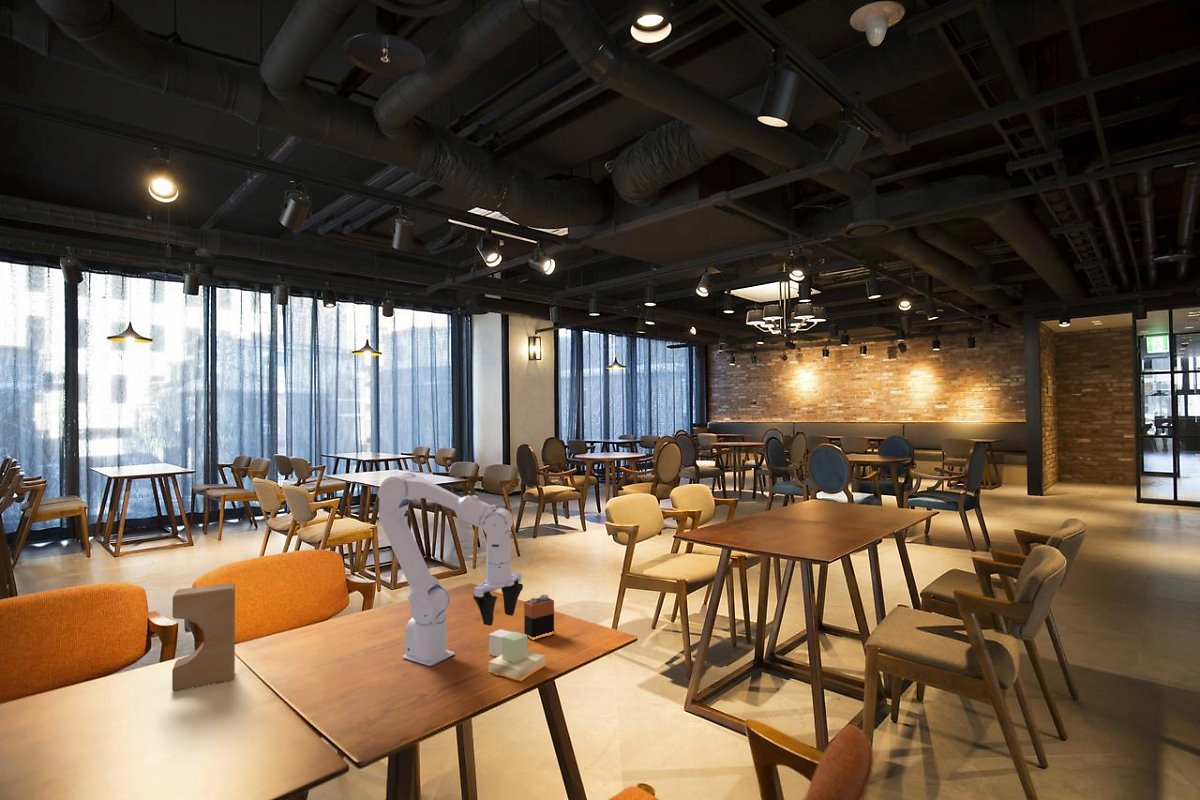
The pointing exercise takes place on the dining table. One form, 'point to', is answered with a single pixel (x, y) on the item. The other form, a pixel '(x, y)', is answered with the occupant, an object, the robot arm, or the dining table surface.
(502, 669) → the birch base block
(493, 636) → the grey block
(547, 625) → the battery
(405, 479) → the robot arm
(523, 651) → the sage block
